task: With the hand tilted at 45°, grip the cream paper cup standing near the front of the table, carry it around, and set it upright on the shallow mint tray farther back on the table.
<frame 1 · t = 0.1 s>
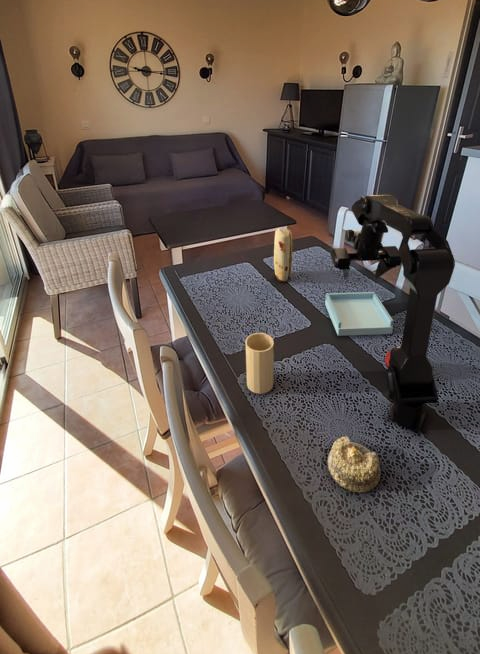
hand: (360, 278, 106), 15 cm above the table, tool pointing down, fingers open, 9 cm apart
food model: (282, 278, 138), on the table
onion: (395, 372, 93), on the table
shallow mint tray: (356, 318, 114), on the table
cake: (353, 467, 71), on the table
cup: (259, 383, 91), on the table
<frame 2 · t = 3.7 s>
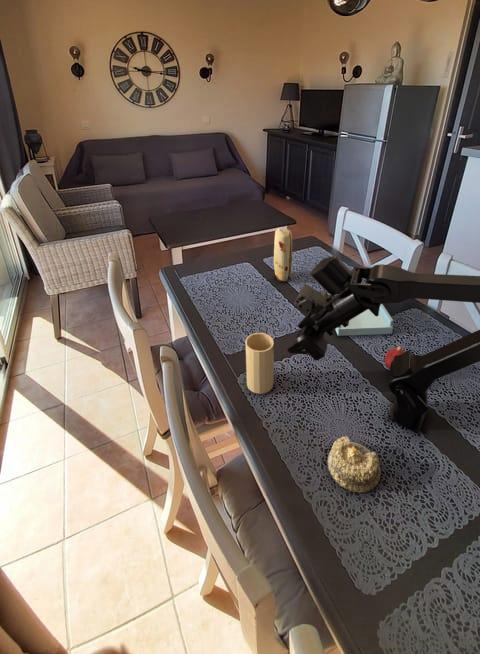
hand: (294, 338, 85), 14 cm above the table, tool tilted 45°, fingers open, 9 cm apart
nothing on the table moved.
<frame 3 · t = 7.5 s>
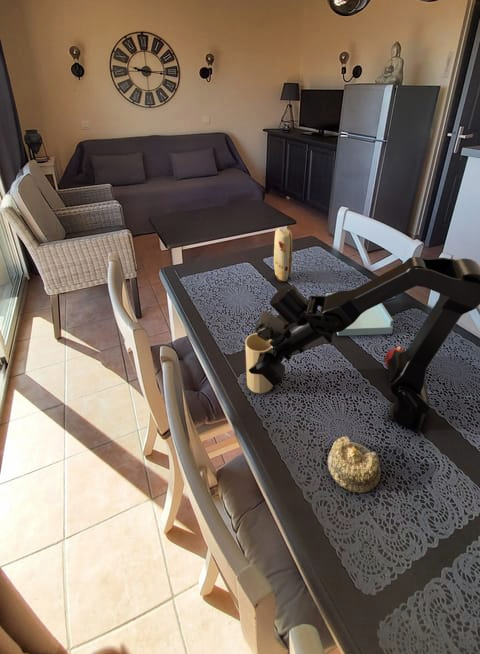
hand: (254, 361, 88), 7 cm above the table, tool tilted 45°, fingers closed on cup, 7 cm apart
cup: (260, 382, 91), on the table, touching gripper
everything else where it was.
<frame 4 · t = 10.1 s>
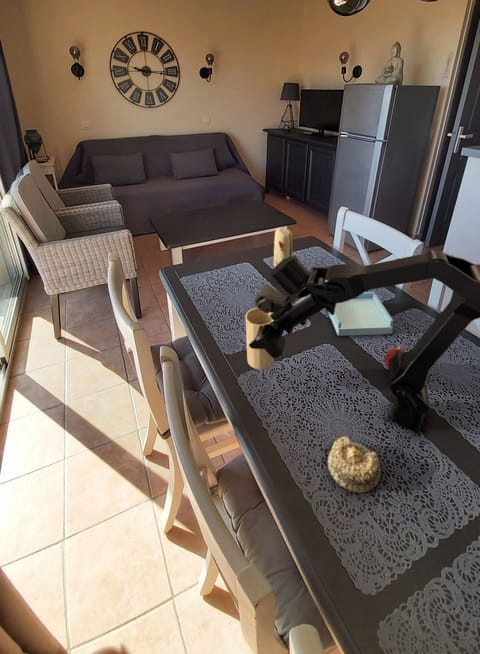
hand: (254, 336, 86), 14 cm above the table, tool tilted 45°, fingers closed on cup, 7 cm apart
cup: (260, 359, 89), point 7 cm above the table, touching gripper
everything else where it was.
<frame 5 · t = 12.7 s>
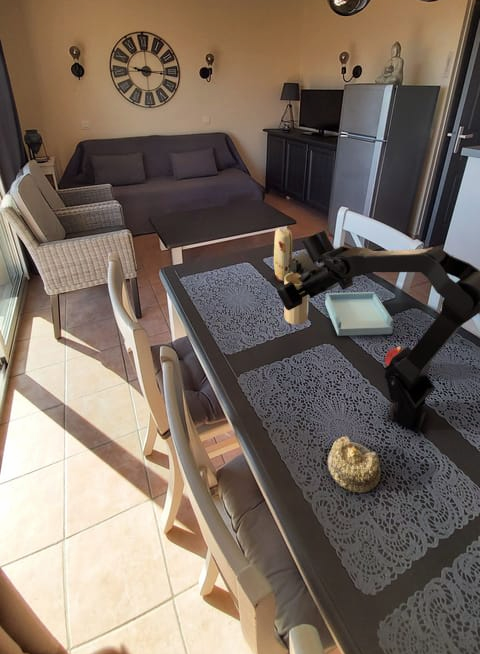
hand: (292, 296, 102), 13 cm above the table, tool tilted 45°, fingers closed on cup, 7 cm apart
cup: (296, 317, 104), point 7 cm above the table, touching gripper
everything else where it was.
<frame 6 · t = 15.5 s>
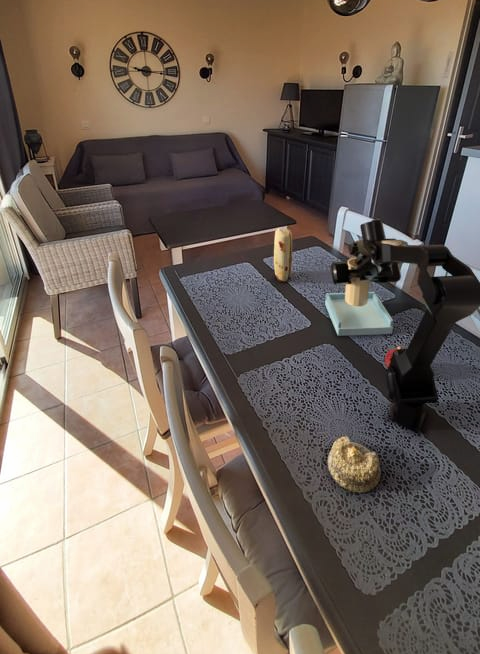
hand: (356, 279, 109), 13 cm above the table, tool tilted 45°, fingers closed on cup, 7 cm apart
cup: (356, 300, 111), point 7 cm above the table, touching gripper
everything else where it was.
when the fingers open (9 cm above the table, at t = 17.9 s): cup stays where it is, resting on shallow mint tray.
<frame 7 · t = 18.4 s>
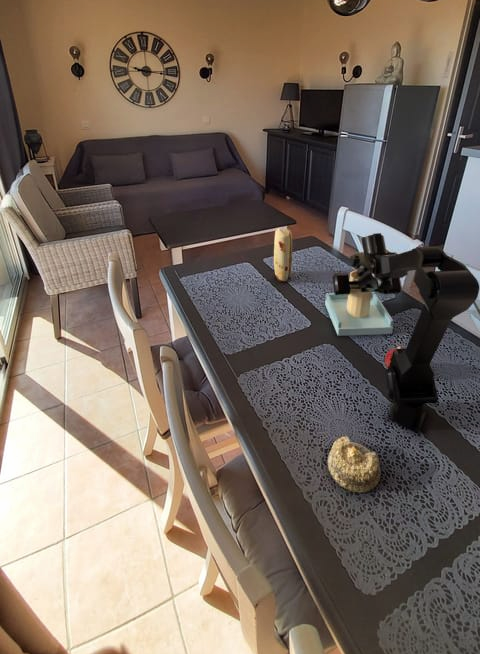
hand: (358, 289, 111), 10 cm above the table, tool tilted 45°, fingers open, 9 cm apart
cup: (357, 311, 113), point 2 cm above the table, touching shallow mint tray
everything else where it was.
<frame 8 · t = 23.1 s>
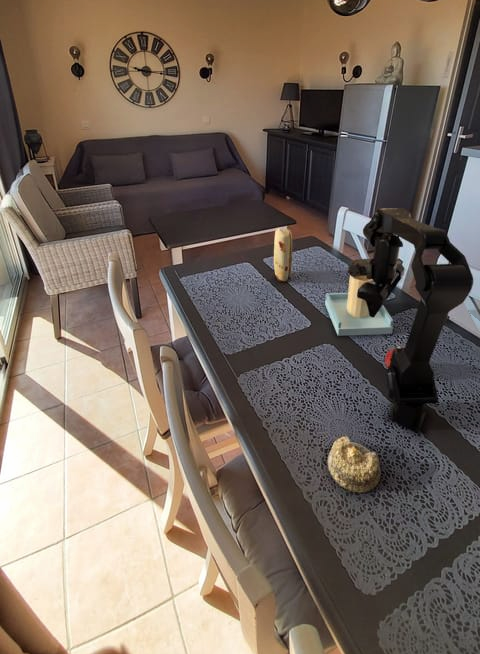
hand: (377, 308, 96), 13 cm above the table, tool pointing down, fingers open, 9 cm apart
nothing on the table moved.
at the end: cup inside the target area on the shallow mint tray (0.1 cm from its centre), point 2.5 cm above the shallow mint tray's base; cup tilted 0°; the gripper is holding nothing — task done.
